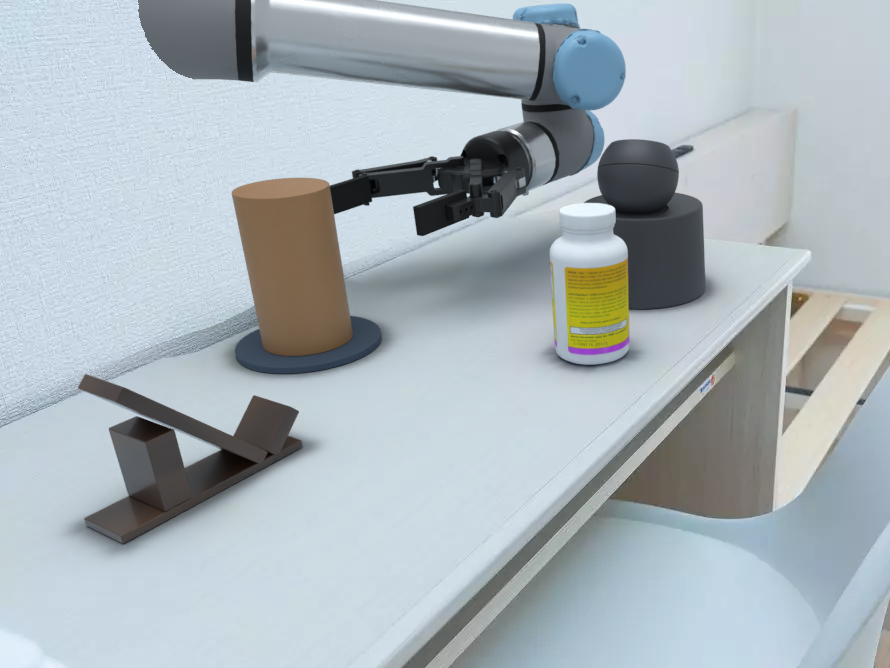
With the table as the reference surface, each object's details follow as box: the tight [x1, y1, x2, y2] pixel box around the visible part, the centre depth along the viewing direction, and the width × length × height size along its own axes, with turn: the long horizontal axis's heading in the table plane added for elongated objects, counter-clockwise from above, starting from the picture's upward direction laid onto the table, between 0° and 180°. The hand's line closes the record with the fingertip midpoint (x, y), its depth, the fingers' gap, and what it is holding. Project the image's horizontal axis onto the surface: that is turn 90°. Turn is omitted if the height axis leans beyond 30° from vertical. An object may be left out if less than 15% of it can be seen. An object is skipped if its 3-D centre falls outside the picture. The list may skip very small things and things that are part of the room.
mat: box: [234, 315, 383, 375], centre depth 83 cm, size 13×13×1 cm
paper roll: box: [231, 177, 353, 356], centre depth 79 cm, size 8×16×16 cm
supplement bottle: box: [549, 202, 630, 366], centre depth 77 cm, size 7×7×13 cm
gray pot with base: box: [583, 138, 707, 310], centre depth 92 cm, size 13×16×14 cm
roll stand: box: [77, 373, 303, 545], centre depth 59 cm, size 4×14×9 cm, turn 148°
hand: (366, 212), depth 86 cm, fingers open, 13 cm apart
